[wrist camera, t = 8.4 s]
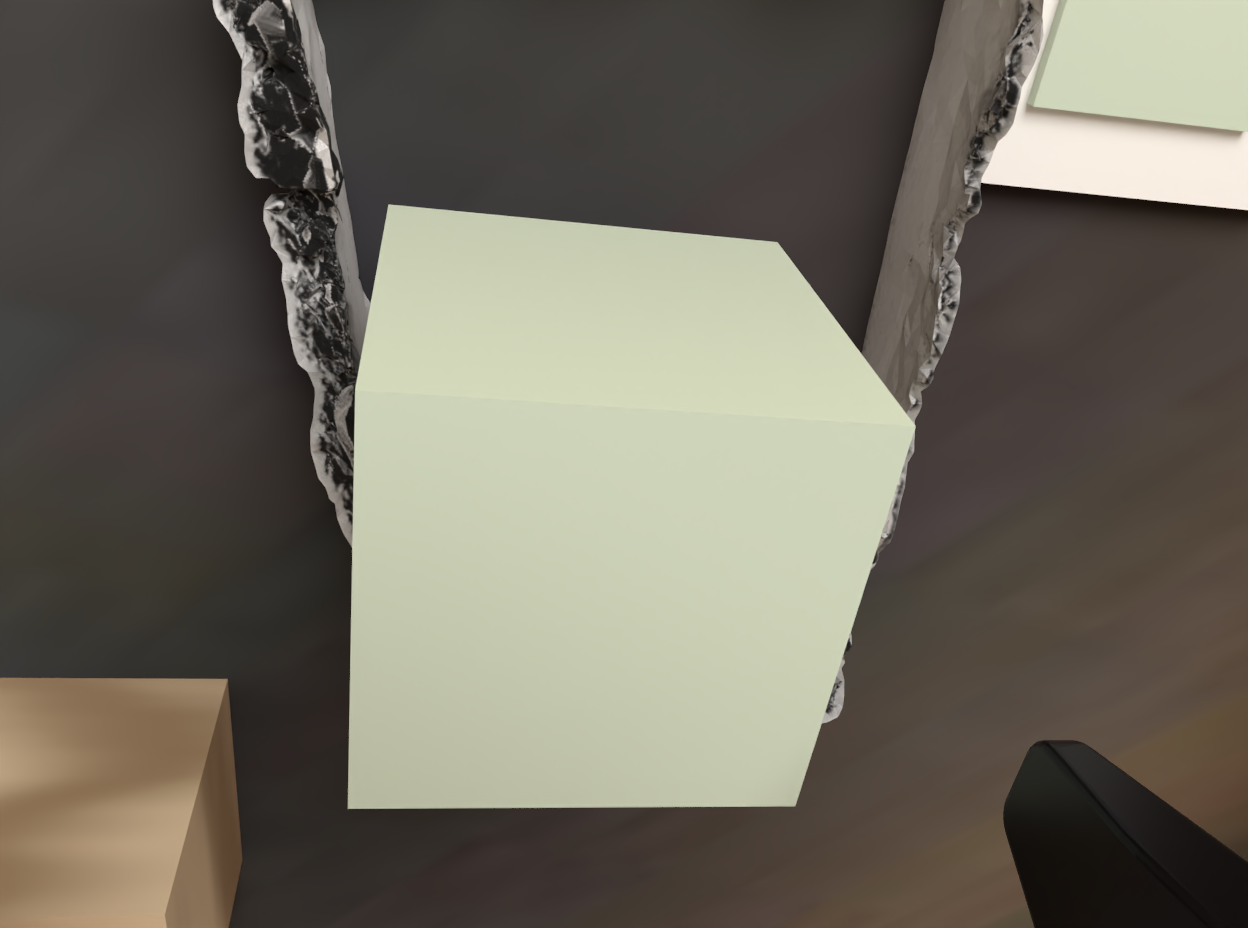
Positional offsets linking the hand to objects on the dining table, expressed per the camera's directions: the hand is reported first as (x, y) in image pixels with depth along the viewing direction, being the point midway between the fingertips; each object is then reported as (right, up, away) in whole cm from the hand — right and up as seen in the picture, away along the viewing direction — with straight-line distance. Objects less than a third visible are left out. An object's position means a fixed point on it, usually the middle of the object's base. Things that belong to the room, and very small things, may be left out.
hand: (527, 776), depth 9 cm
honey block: (-9, -3, +12) cm, 15 cm away
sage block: (0, +3, +6) cm, 7 cm away
